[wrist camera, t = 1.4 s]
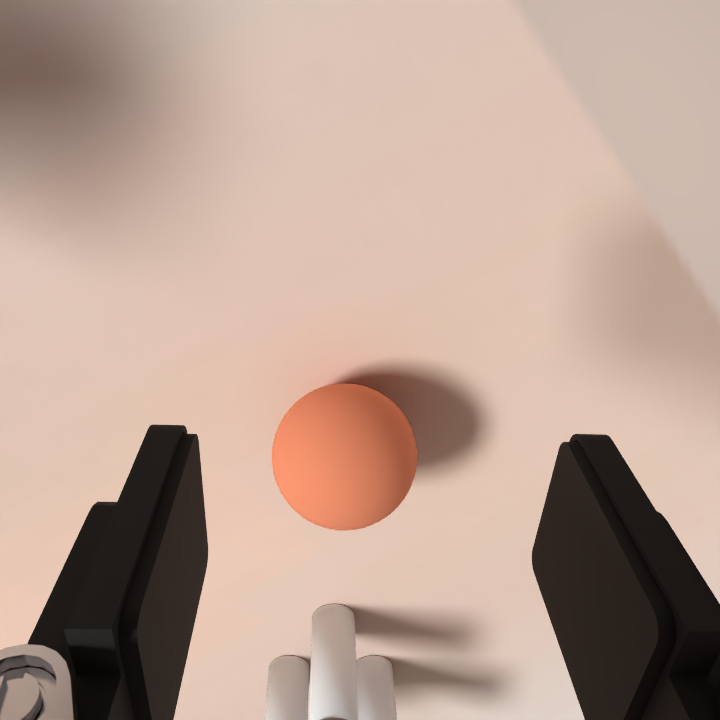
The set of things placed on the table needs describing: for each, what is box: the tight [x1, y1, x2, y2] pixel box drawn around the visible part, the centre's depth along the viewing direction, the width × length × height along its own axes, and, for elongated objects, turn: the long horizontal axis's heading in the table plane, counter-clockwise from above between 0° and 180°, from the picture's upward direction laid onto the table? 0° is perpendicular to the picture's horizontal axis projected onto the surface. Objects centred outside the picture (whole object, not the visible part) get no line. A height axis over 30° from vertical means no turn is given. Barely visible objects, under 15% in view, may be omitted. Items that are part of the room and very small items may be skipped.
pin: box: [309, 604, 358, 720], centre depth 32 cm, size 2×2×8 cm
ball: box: [272, 384, 417, 530], centre depth 27 cm, size 6×6×6 cm
